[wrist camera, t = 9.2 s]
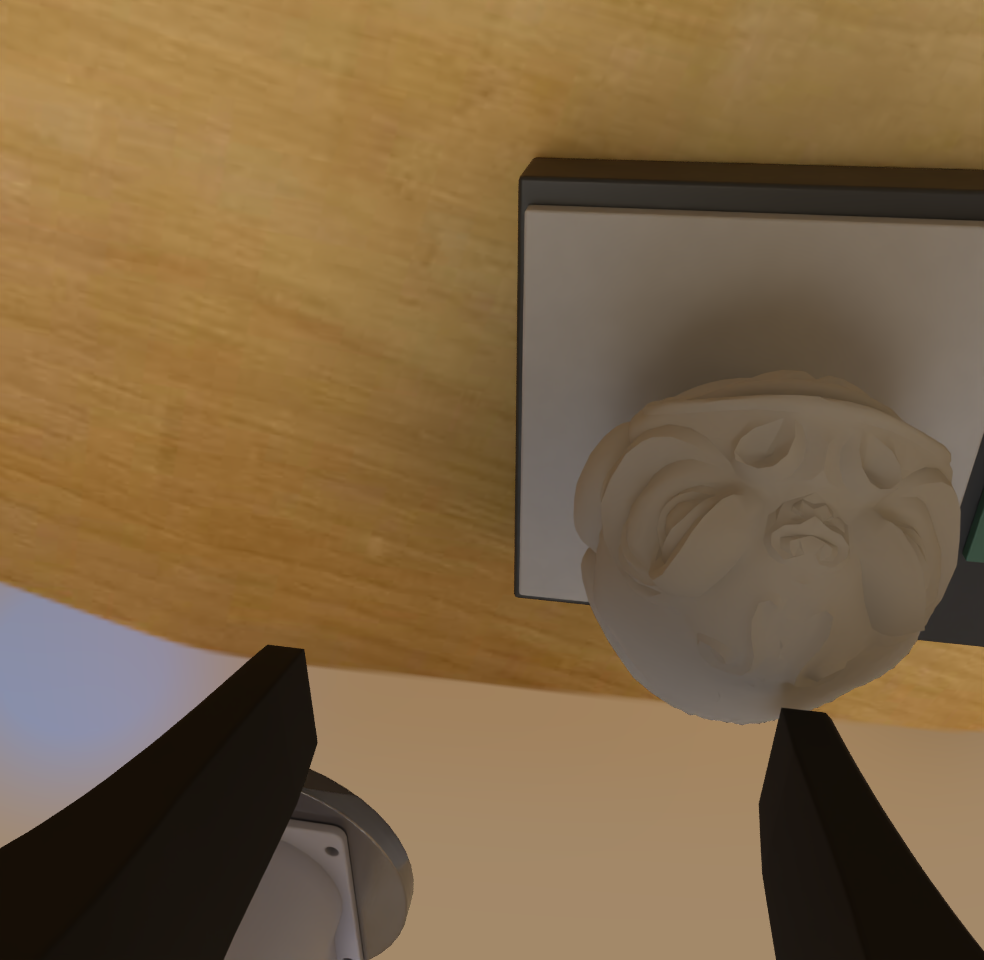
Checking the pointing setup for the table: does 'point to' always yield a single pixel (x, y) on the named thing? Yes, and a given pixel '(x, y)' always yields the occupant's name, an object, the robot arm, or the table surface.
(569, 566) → the scale
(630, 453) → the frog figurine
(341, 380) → the table surface
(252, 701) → the robot arm
